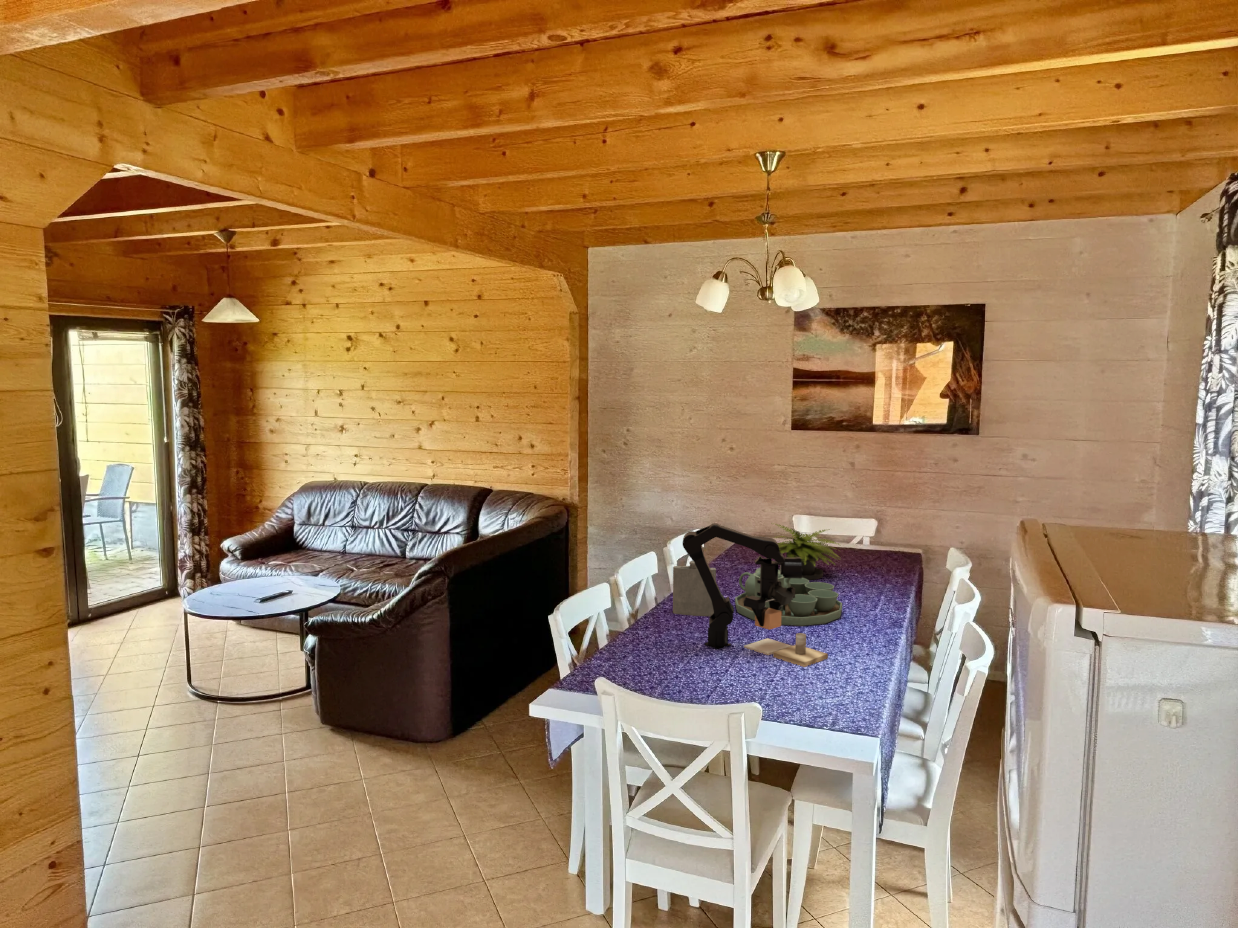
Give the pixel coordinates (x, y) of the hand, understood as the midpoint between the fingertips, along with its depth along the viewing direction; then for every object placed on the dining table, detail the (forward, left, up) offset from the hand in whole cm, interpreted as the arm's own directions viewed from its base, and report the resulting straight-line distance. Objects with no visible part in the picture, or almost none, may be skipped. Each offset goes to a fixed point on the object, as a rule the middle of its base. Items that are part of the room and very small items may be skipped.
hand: (767, 624), depth 271 cm
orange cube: (0, 0, -1) cm, 0 cm away
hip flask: (+9, +42, -8) cm, 44 cm away
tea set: (+40, +22, -8) cm, 46 cm away
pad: (0, 0, -8) cm, 8 cm away
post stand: (0, -13, -8) cm, 15 cm away
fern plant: (+89, +52, -8) cm, 104 cm away
